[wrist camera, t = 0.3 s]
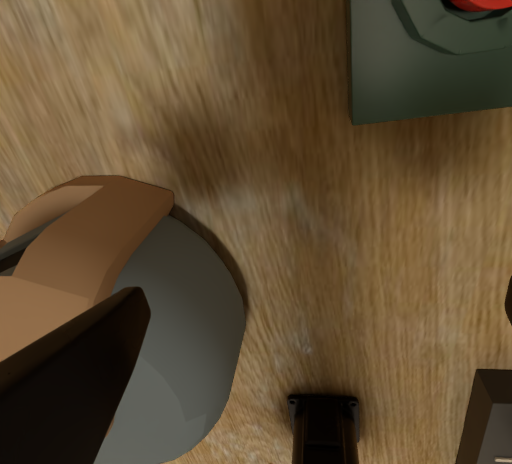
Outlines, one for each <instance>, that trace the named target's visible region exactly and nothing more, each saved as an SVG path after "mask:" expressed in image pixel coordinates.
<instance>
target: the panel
mask: <svg viewBox="0 0 512 464" xmlns="http://www.w3.org/2000/svg"><path fill="white" fill-rule="evenodd" d="M456 464H512V370H477V371H476V376H475V380H474V385H473V389H472V394H471V398H470V403H469V407H468V412H467V416H466V421H465V425H464V430H463V434H462V439H461V443H460V448H459V452H458V457H457V461H456Z"/></svg>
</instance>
